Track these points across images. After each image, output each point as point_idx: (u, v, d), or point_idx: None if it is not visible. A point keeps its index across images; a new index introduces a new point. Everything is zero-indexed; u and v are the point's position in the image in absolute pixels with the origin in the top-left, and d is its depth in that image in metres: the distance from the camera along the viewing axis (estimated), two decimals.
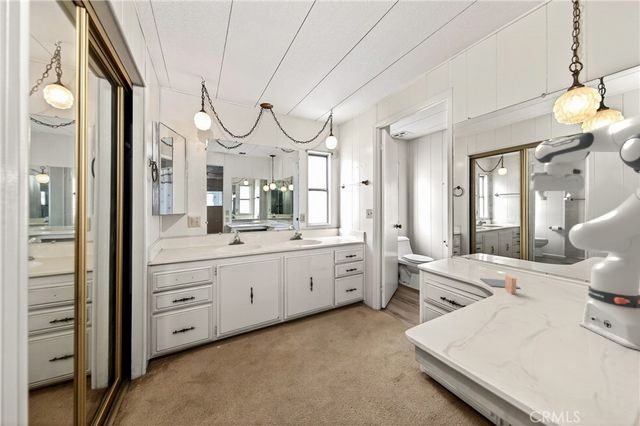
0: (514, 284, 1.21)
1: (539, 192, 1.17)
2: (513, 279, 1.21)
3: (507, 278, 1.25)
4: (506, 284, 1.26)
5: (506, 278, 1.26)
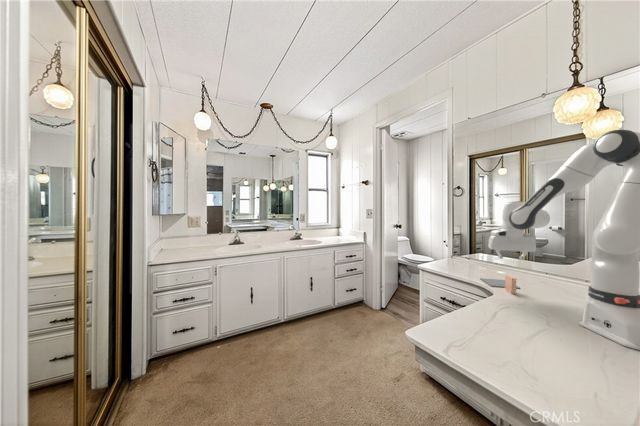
0: (514, 284, 1.21)
1: None
2: (513, 279, 1.21)
3: (507, 278, 1.25)
4: (506, 284, 1.26)
5: (506, 278, 1.26)
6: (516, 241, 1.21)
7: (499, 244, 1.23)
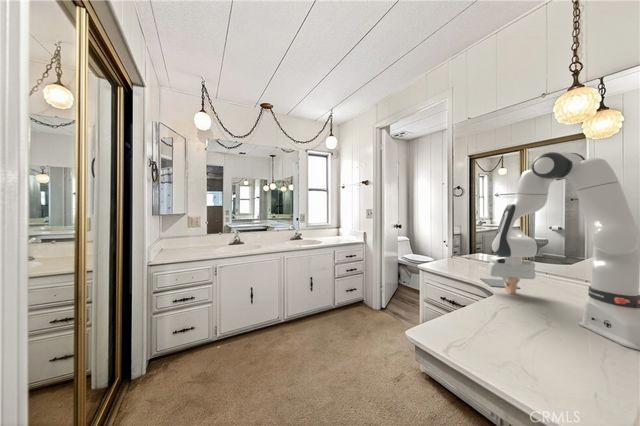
0: (514, 284, 1.21)
1: None
2: (513, 279, 1.21)
3: (507, 278, 1.25)
4: None
5: None
6: (515, 268, 1.22)
7: (498, 271, 1.23)
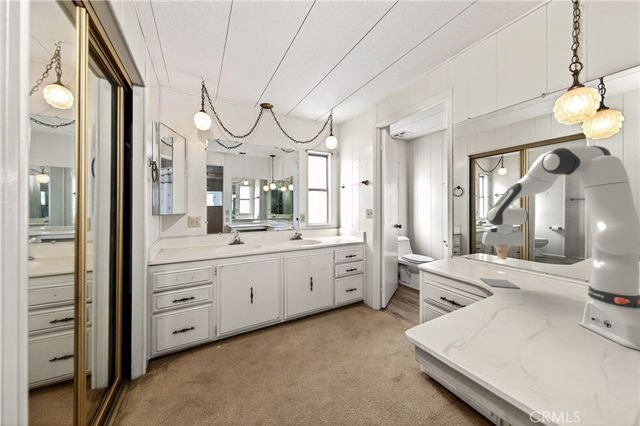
0: (505, 250, 1.35)
1: None
2: (504, 245, 1.35)
3: (499, 246, 1.39)
4: None
5: None
6: (506, 237, 1.36)
7: (491, 240, 1.38)
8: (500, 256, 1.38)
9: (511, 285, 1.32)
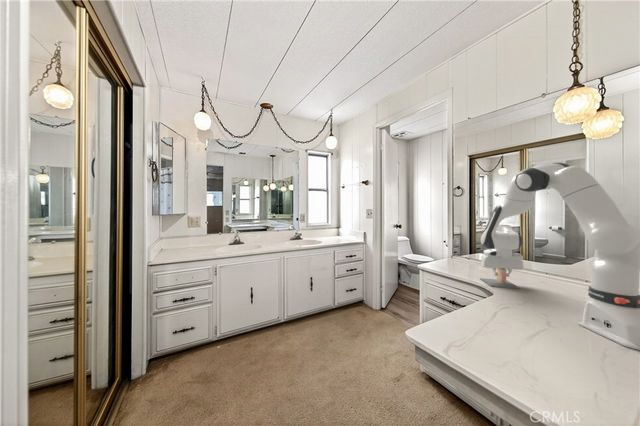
0: (504, 275, 1.36)
1: None
2: (504, 270, 1.36)
3: (498, 269, 1.40)
4: (498, 275, 1.41)
5: (498, 269, 1.41)
6: (506, 260, 1.37)
7: (491, 263, 1.38)
8: (499, 280, 1.38)
9: (511, 285, 1.32)
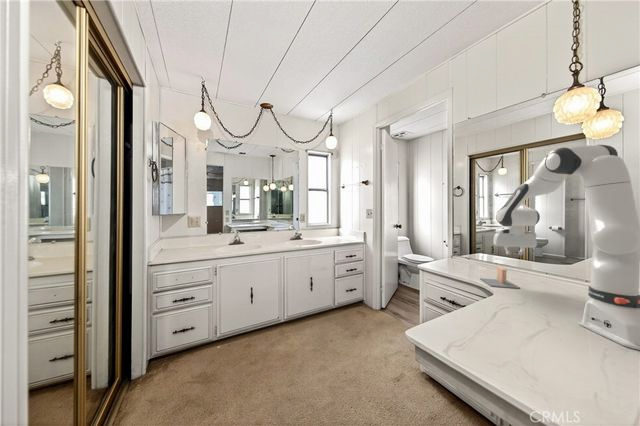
0: (504, 275, 1.36)
1: None
2: (504, 270, 1.36)
3: (498, 269, 1.40)
4: (498, 275, 1.41)
5: (498, 269, 1.41)
6: (518, 238, 1.35)
7: (503, 241, 1.36)
8: (499, 280, 1.38)
9: (511, 285, 1.32)
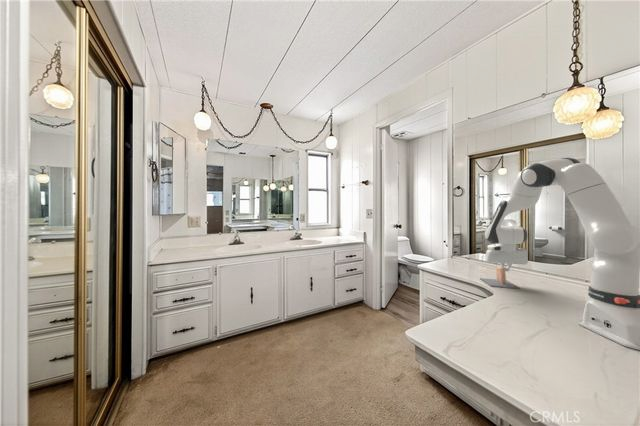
0: (504, 274, 1.36)
1: None
2: (503, 270, 1.36)
3: (497, 269, 1.40)
4: (497, 275, 1.41)
5: (497, 269, 1.41)
6: (510, 255, 1.36)
7: (495, 258, 1.38)
8: (499, 280, 1.38)
9: (511, 285, 1.32)
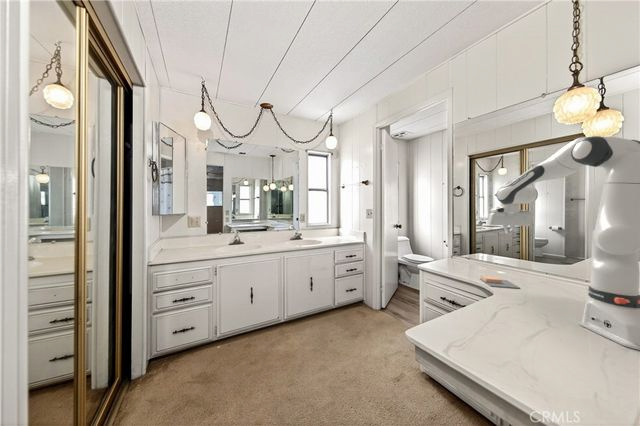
0: (491, 280, 1.37)
1: None
2: (486, 280, 1.38)
3: None
4: None
5: None
6: (513, 217, 1.35)
7: (498, 220, 1.37)
8: None
9: (511, 285, 1.32)
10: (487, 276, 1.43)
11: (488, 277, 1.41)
